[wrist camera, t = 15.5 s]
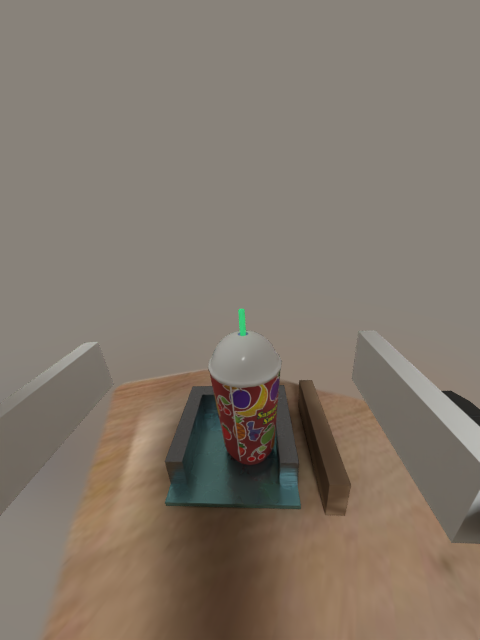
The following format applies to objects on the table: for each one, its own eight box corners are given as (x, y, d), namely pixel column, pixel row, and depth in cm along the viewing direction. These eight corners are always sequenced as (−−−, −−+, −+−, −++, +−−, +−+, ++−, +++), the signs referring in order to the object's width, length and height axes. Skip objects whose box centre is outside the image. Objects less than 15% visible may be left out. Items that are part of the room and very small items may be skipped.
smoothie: (278, 482, 27) (279, 328, 19) (211, 470, 29) (187, 324, 21) (282, 425, 34) (283, 297, 27) (228, 418, 36) (215, 297, 28)
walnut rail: (310, 404, 39) (312, 380, 37) (344, 515, 24) (350, 485, 22) (298, 404, 39) (299, 380, 37) (325, 515, 24) (329, 484, 22)
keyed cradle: (283, 406, 39) (284, 385, 37) (300, 508, 25) (302, 482, 23) (196, 407, 40) (192, 386, 38) (166, 505, 26) (158, 479, 24)
